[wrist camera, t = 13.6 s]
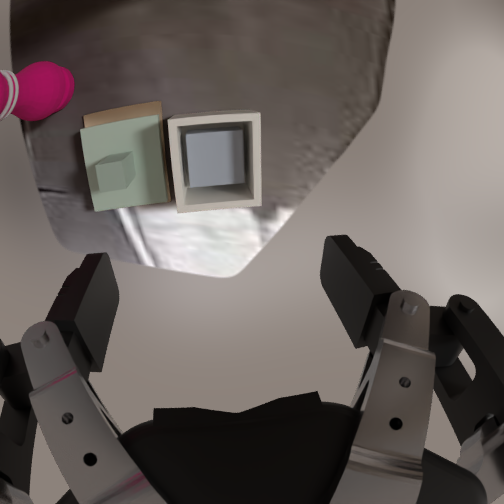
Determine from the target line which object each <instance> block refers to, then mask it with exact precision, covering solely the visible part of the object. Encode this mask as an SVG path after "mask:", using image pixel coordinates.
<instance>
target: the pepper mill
mask: <svg viewBox="0 0 504 504" xmlns="http://www.w3.org/2000/svg"><path fill="white" fill-rule="evenodd" d="M73 92H74V78H73V75H72V74H71V72H70V71H69V70H68V69H66V68H64V67H59V66H58V65H56V64H55V63H52V62H49V61H42V62H36V63H33V64H31V65H29V66H27V67H26V68H24V69H23V70H21V71H20V72H19V73H18V74H13V73H12V72H11V71H9V70H0V121H2V120H3V119H5V118H6V117H7V116H9V114H13V115H15V116H17V117H18V118H20V119H22V120H27V121H37V120H42V119H44V118H46V117H48V116H49V115H51V114H52V113H55V112H58V111H60V110H61V109H63V108H64V107H65V106H66V105H67V104H68V102H69V101H70V99H71V97H72V95H73Z"/></svg>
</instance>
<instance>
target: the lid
mask: <svg viewBox="0 0 504 504" xmlns="http://www.w3.org/2000/svg"><path fill="white" fill-rule="evenodd" d="M80 132H81V140H82V147H83V153H84V159H85V165H86V171H87V176H88V181H89V186H90V191H91V196H92V201H93V205H94V210H95V212H96V211H102V210H109V209H116V208H124V207H131V206H139V205H147V204H155V203H163V202H167V201H168V194H167V187H166V179H165V170H164V162H163V152H162V142H161V132H160V120H159V114H157V115H150V116H143V117H137V118H131V119H125V120H120V121H115V122H110V123H105V124H100V125H96V126H91V127H87V128H83V129H80Z"/></svg>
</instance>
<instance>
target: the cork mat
mask: <svg viewBox="0 0 504 504" xmlns="http://www.w3.org/2000/svg"><path fill="white" fill-rule="evenodd" d="M157 114H159V120H160V132H161V142H162V152H163V162H164V170H165V179H166V187H167V194H168V201H167V202H171V196H170V188H169V180H168V172H167V163H166V153H165V143H164V133H163V121H162V108H161V101H155V102H149V103H142V104H136V105H131V106H125V107H120V108H115V109H110V110H105V111H101V112H97V113H92V114H88V115H84V124H85V128H87V127H91V126H96V125H100V124H105V123H110V122H115V121H120V120H125V119H131V118H137V117H143V116H150V115H157ZM163 203H164V202H163ZM155 204H156V203H155ZM147 205H148V204H147ZM139 206H140V205H139ZM131 207H132V206H131ZM124 208H125V207H124ZM116 209H117V208H116ZM109 210H110V209H109ZM102 211H103V210H102Z"/></svg>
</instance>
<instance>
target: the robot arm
mask: <svg viewBox="0 0 504 504" xmlns="http://www.w3.org/2000/svg"><path fill="white" fill-rule="evenodd" d="M320 279H321V284H322V286H323V288H324V290H325V292H326V294H327V296H328V298H329V299H330V301H331V303H332V305H333V307H334V308H335V311H336V312H337V314H338V316H339V318H340V320H341V321H342V323H343V326H344V327H345V329H346V331H347V333H348V335H349V337H350V339H351V341H352V343H353V345H354V347H355V348H360V347H365V346H368V348H369V350H370V351H369V353H368V356H367V359H366V362H365V365H364V368H363V371H362V375H361V378H360V381H359V384H358V387H357V390H356V393H355V395H354V398H353V400H352V403H351V405H350V407H349V406H346V405H343V404H338V403H331V402H321V400H320V397H319V394H318V391H316V392H311V393H306V394H300V395H294V396H289V397H283V398H278V399H275V400H273V401H270V402H268V403H265V404H262V405H260V406H257V407H254V408H252V409H249V410H246V411H243V412H240V413H231V412H223V411H215V410H208V409H201V408H195V407H190V408H189V407H188V408H154V413H153V420H150V421H147V422H144V423H141V424H139V425H137V426H134V427H133V428H131V429H129V430H128V431H126V432H125V433H123V432H122V430H121V429H120V428H119V427H118V425H117V424H116V422H115V421H114V420H113V418H112V417H111V415H110V414H109V412H108V410H107V409H106V408H105V406H104V404H103V403H102V401H101V399H100V398H99V396H98V395H97V393H96V391H95V390H94V388H93V386H92V384H91V383H90V381H89V380H88V378H89V374H90V372H102V368H103V363H104V358H105V354H106V350H107V345H108V342H109V338H110V334H111V330H112V326H113V322H114V318H115V315H116V311H117V307H118V304H119V290H118V286H117V282H116V279H115V276H114V272H113V269H112V265H111V262H110V258H109V256H108V254H107V253H93V254H87V255H86V257H85V258H84V260H83V262H82V264H81V266H80V268H76V269H75V270H74V271H73V272H72V273H71V274H70V275H68V276H67V278H66V280H65V281H64V283H63V285H62V288H61V289H60V291H59V293H58V296H57V297H56V299H55V301H54V303H53V305H52V307H51V309H50V311H49V313H48V315H47V317H46V319H45V321H43V322H38V323H36V324H34V325H33V326H31V327H30V328H28V329H27V331H26V332H25V333H24V335H23V337H22V339H21V342H19V343H15V344H11V345H8V346H5V345H4V344H3V342H2V341H1V339H0V395H1V396H2V398H3V399H4V400H5V401H4V405H3V408H2V413H1V416H0V504H33V502H32V500H31V499H30V497H29V490H30V474H31V464H32V455H33V447H34V440H35V434H36V428H37V422H38V423H39V425H40V428H41V430H42V433H43V435H44V437H45V440H46V442H47V444H48V446H49V449H50V451H51V453H52V455H53V457H54V459H55V461H56V463H57V465H58V467H59V469H60V471H61V473H62V475H63V477H64V478H65V480H66V482H67V484H68V486H69V487H70V489H69V490H68V491H67V492H66V494H65V495H64V496H63V497H62V498H61V499H60V500H59V501H58V502H57V503H56V504H490V503H492V502H493V501H495V500H496V499H497V498H498V497H500V496H501V495H502V494H504V336H503V335H502V334H501V332H500V331H499V330H498V328H497V327H496V326H495V325H494V323H493V322H492V321H491V320H490V318H489V317H488V316H487V315H486V313H485V312H484V311H483V310H482V309H481V307H480V306H479V305H478V304H477V303H476V302H475V301H474V300H473V299H471V298H469V297H467V296H464V295H459V294H456V295H453V296H451V297H450V299H449V301H448V303H447V305H446V307H440V306H429V304H428V302H427V301H426V300H425V299H424V298H423V297H422V296H421V295H419V294H417V293H415V292H412V291H408V290H401V289H400V288H399V287H398V285H397V284H396V283H395V282H394V280H393V279H392V278H391V277H390V276H389V274H388V273H387V272H386V271H385V270H383V267H382V266H381V265H380V264H379V263H377V260H376V259H375V258H374V257H373V256H372V254H371V253H369V252H368V251H366V250H364V249H363V248H361V247H357V246H356V245H355V243H354V242H353V241H352V240H351V239H350V238H349V237H348V236H347V235H334V236H327V237H326V239H325V243H324V250H323V257H322V263H321V270H320ZM463 348H464V349H465V351H466V352H467V354H468V355H469V357H470V358H471V360H472V362H473V363H474V365H475V368H476V375H475V378H474V380H473V381H472V380H471V378H470V376H469V374H468V373H467V371H466V370H465V368H464V366H463V365H462V363H461V361H460V360H459V358H458V356H459V354H460V353H461V351H462V349H463ZM433 389H434V391H435V393H436V395H437V397H438V398H439V400H440V402H441V404H442V407H443V408H444V411H445V413H446V414H447V417H448V419H449V421H450V423H451V425H452V427H453V429H454V432H455V434H456V436H457V438H458V440H459V443H460V445H461V451H460V457H459V458H458V460H457V464H455V463H453V462H451V461H449V460H447V459H445V458H443V457H441V456H439V455H437V454H435V453H433V452H431V451H429V450H427V449H425V448H424V445H425V440H426V435H427V429H428V424H429V417H430V410H431V403H432V394H433Z"/></svg>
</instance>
